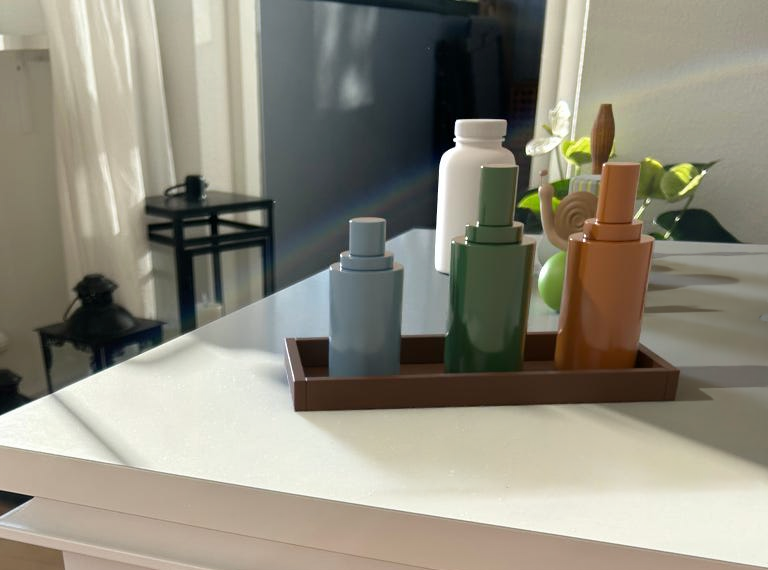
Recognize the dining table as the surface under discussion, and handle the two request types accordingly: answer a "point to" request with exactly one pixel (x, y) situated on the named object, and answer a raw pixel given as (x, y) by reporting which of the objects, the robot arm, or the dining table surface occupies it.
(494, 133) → the pill bottle
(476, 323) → the green bottle
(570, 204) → the snail figurine
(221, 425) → the dining table surface
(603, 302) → the amber bottle
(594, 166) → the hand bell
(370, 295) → the blue bottle
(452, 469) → the dining table surface
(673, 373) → the tray
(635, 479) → the dining table surface
